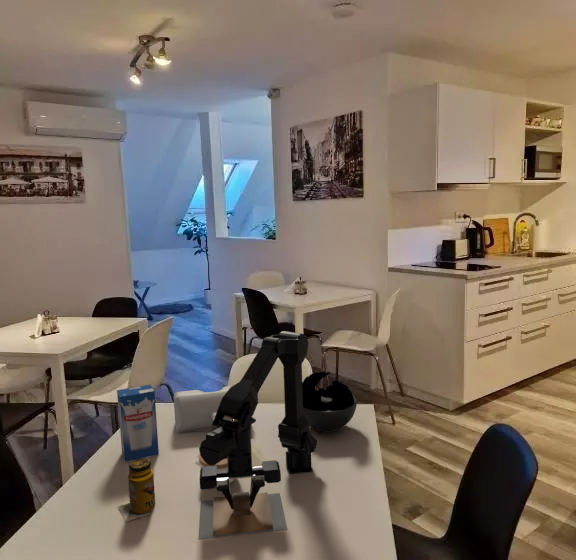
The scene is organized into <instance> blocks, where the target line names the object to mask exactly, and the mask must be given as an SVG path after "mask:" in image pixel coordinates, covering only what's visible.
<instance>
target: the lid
mask: <svg viewBox="0 0 576 560" xmlns="http://www.w3.org/2000/svg"><path fill="white" fill-rule="evenodd" d="M268 494H269V493H268V492H266V491H265V492H258V493H257V495H256V497H255V500H254V503H253V505H252V508H250V491H243V492H233V493H232V498H233V509H231V507H230V505H229V503H228V501H227V499H226V497H225V496H224V495H223V496H217V497H213V498H212V500H213V536H214V535H223V534H232V533H242V532H251V531H260V530H270V529H273V523H272V517H271V511H270V505H269V499H268Z"/></svg>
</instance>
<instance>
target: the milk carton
mask: <svg viewBox="0 0 576 560" xmlns="http://www.w3.org/2000/svg"><path fill="white" fill-rule="evenodd" d="M116 393H117V405H118V407H117V408H118V419H119V433H120V442H121V453H122V457H123V460H124V463H128V462H132V461H134V460H136V459H142V458H143V459H147V458H150V457H154V456H159V453H160V451H159V450H160V449H159V438H158V437H159V436H158V422H157V410H156V409H157V407H156V394H155V393H156V391H155V389H154V387H153V386H152V384H145V385H139V386H135V387H128V388H123V389H117V390H116Z"/></svg>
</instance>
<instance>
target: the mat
mask: <svg viewBox="0 0 576 560" xmlns="http://www.w3.org/2000/svg"><path fill="white" fill-rule="evenodd" d="M268 499H269V505H270V511H271V517H272V523H273V529H270V530H260V531H251V532H242V533H232V534H223V535H214V536H213V499H206V500H200V504H199V506H200V507H199V508H200V509H199V521H198V537H197V538H198V539H197V540H205V539H215V538H216V539H217V538H226V537H232V536H233V537H235V536H243V535H253V534H262V533H271V532H272V533H273V532H280V531H287V530H288V526H287V520H286V517H285V510H284V506H283V500H282V496H281V492H279V493H278V492H276V493H275V492H274V493H268Z"/></svg>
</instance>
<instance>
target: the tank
mask: <svg viewBox="0 0 576 560" xmlns="http://www.w3.org/2000/svg"><path fill="white" fill-rule="evenodd" d="M232 386H233V385H227V386H223V387H222V388H221V389H220V390H217V391H216V390H215V391H209V392H208V391H202V390H199V389H193V390H185V391H183V390H182V391H176V392H175V393H174V394H173V406H174V407H173V409H174V422H175V424H174V425H175V431H176V432H177V433H178V434H184V433H191V432H198V431H206V430H216V429H217V427H215V426H212V423H213V421H214V418H215V415H216V413H217V410H218V407H219V405H220V402H221V400H222V398H223V396H224V395H225V394H226V392H227V391H228V390H229V389H230V387H232ZM223 419H225V420H228V421H231V418H228V417H224V418H223Z"/></svg>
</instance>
